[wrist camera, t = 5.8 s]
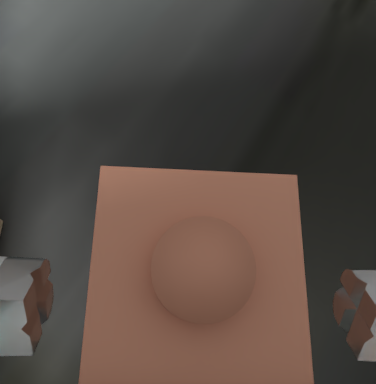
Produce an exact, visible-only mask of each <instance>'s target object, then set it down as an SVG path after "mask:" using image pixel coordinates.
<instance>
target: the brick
mask: <svg viewBox="0 0 376 384" xmlns="http://www.w3.org/2000/svg"><path fill="white" fill-rule="evenodd" d="M79 384H314V378H313V366H312V353H311V341H310V329H309V317H308V304H307V292H306V280H305V268H304V255H303V243H302V231H301V219H300V206H299V194H298V182H297V175H286V174H265V173H244V172H223V171H201V170H180V169H159V168H138V167H117V166H100V176H99V186H98V196H97V206H96V216H95V226H94V235H93V245H92V255H91V265H90V275H89V285H88V295H87V305H86V314H85V324H84V334H83V344H82V354H81V364H80V374H79Z"/></svg>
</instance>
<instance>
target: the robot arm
mask: <svg viewBox="0 0 376 384" xmlns="http://www.w3.org/2000/svg"><path fill="white" fill-rule="evenodd" d="M50 272H51V269H50V263H49V260H47V259H43V258H25V257H3V256H0V356H33V355H34V352H35V350H36V347H37V345H38V343H39V340H40V338H41V335H42V329H41V324H43V323H44V322H45V321H47V320H48V318H49V315H50V312H51V309H52V304H53V284H52V283H51V282H50V281H49V280H48V276H49V274H50ZM340 282H341V284H342V285H343V287H341V288H340V289H339V290H338V291H337V292H335V296H334V299H333V313H334V316H335V319H336V321H337V323H338V325H339V327H341V328H342V329H343V330H345V331H346V332H347V333H348V334H347V338H346V340H347V342H348V344H349V346H350V348H351V350H352V352H353V354H354V355H355V357H356V359H357V361H376V270H367V269H345V271H344V272H343V273H342V275H341V278H340Z"/></svg>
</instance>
